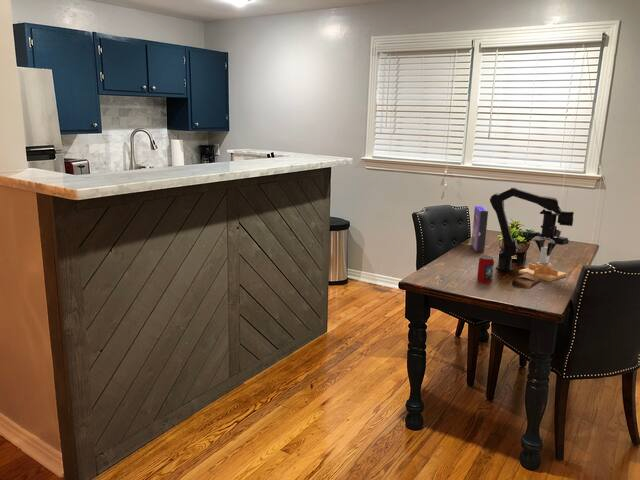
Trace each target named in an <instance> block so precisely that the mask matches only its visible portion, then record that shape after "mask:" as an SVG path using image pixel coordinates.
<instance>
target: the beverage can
mask: <svg viewBox="0 0 640 480" xmlns="http://www.w3.org/2000/svg"><path fill="white" fill-rule="evenodd" d="M494 266H495V260H494V257H493V256H491V255H482V256H480V258H479V259H478V266H477V276H476V280H477V281H478V282H479V283H480V284H483V285H484V284H485V285H488V284H490V283H493V276H494Z"/></svg>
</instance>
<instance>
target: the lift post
mask: <svg viewBox="0 0 640 480" xmlns="http://www.w3.org/2000/svg"><path fill="white" fill-rule="evenodd" d="M547 250H548V246H547V245H544V246H543V247H541V252H540V251H539V261H538V262H539V263H542V264H549V263H550V256H551V254H550V255H549V256H547Z"/></svg>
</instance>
